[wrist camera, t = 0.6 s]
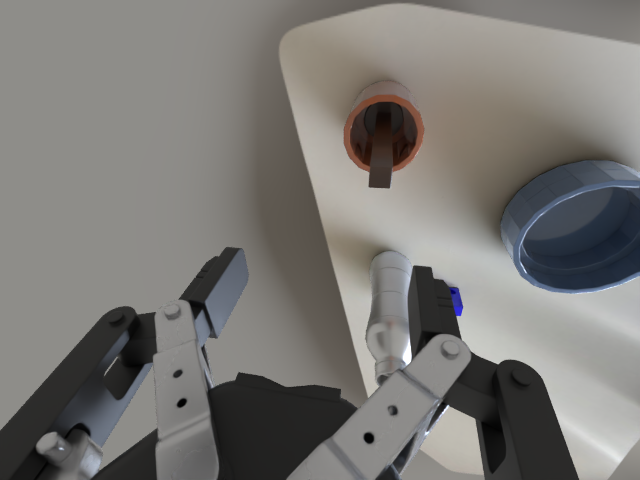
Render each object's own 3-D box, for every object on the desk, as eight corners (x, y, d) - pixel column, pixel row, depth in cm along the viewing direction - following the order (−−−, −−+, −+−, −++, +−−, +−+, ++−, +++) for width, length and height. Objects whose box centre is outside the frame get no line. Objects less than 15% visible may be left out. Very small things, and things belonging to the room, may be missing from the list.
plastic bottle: (396, 238, 46) (401, 356, 30) (420, 268, 48) (437, 392, 32) (361, 257, 49) (348, 372, 33) (386, 283, 51) (384, 403, 35)
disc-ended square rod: (365, 97, 35) (350, 147, 21) (405, 97, 34) (416, 148, 20) (363, 136, 37) (349, 203, 24) (400, 137, 37) (407, 206, 23)
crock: (352, 80, 35) (344, 94, 28) (422, 80, 33) (430, 94, 27) (350, 147, 39) (343, 172, 33) (412, 149, 38) (417, 175, 31)
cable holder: (404, 299, 52) (405, 317, 49) (406, 284, 50) (407, 302, 47) (454, 303, 51) (458, 322, 48) (458, 288, 49) (463, 306, 46)
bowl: (521, 155, 36) (542, 177, 31) (676, 160, 33) (724, 184, 29) (485, 258, 45) (496, 286, 40) (604, 267, 42) (632, 299, 38)
